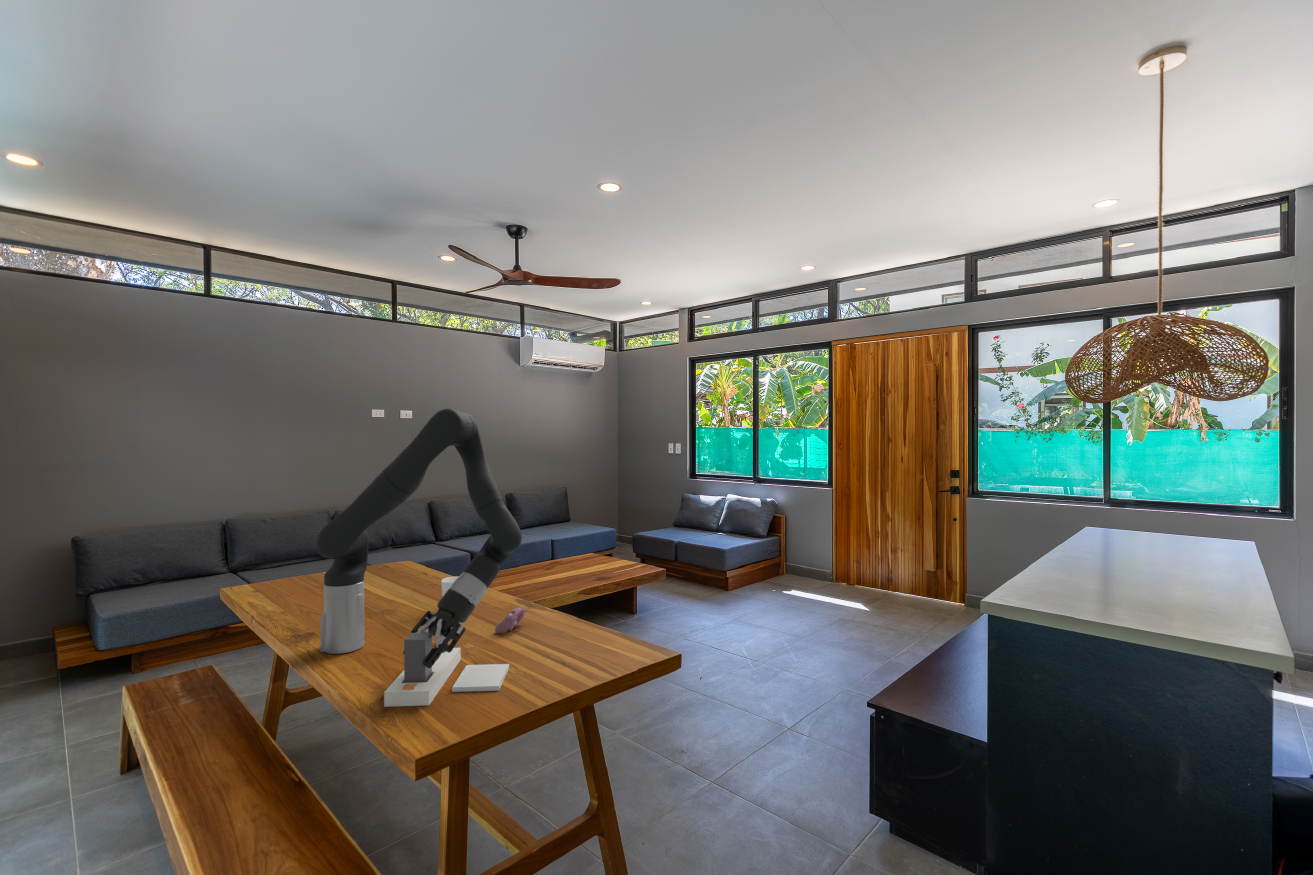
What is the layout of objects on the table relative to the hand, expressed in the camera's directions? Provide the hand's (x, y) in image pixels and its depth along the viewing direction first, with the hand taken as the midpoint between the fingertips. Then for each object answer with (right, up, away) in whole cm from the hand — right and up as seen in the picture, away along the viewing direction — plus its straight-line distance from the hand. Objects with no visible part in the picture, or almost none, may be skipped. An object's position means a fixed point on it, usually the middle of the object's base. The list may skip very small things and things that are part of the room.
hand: (415, 661), depth 125 cm
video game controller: (+11, -7, +41) cm, 42 cm away
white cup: (-11, -6, +57) cm, 58 cm away
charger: (0, -7, +1) cm, 7 cm away
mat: (+13, -7, +6) cm, 16 cm away
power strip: (0, -7, +6) cm, 9 cm away
